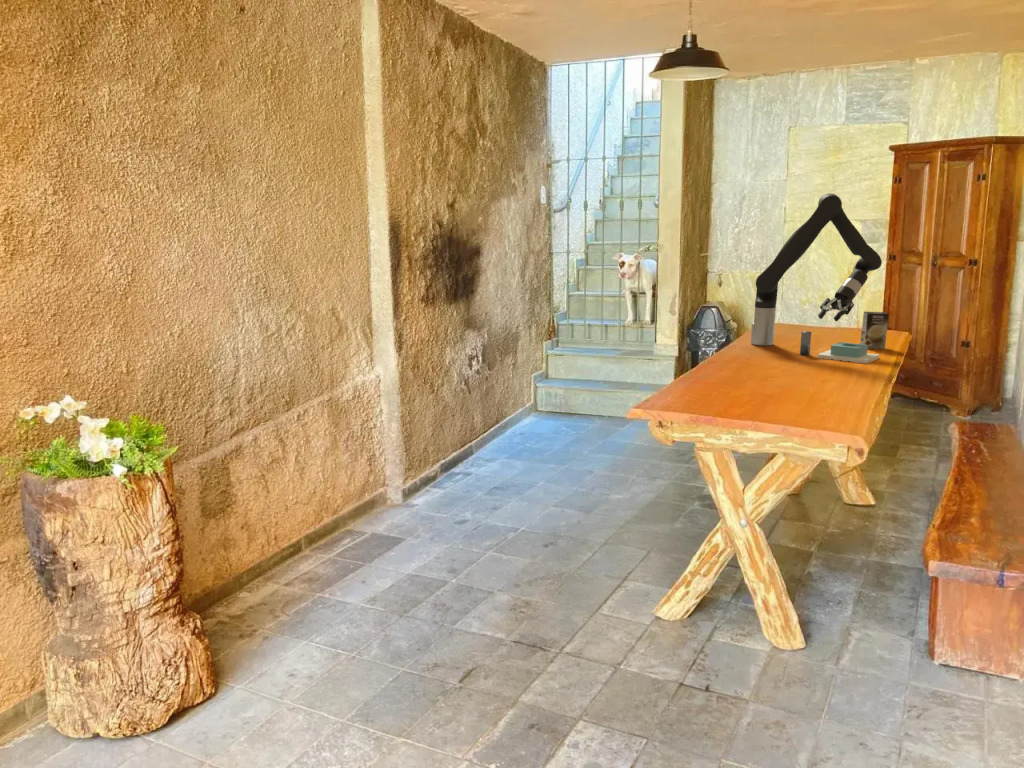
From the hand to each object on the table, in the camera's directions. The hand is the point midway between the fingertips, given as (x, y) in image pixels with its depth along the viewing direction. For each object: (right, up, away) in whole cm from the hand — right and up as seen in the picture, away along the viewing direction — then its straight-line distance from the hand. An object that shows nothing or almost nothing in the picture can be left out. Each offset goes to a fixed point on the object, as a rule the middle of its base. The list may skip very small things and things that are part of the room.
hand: (827, 318), depth 347 cm
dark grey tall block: (-11, -16, -2) cm, 19 cm away
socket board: (+5, -17, -10) cm, 20 cm away
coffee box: (+26, -12, +14) cm, 32 cm away
